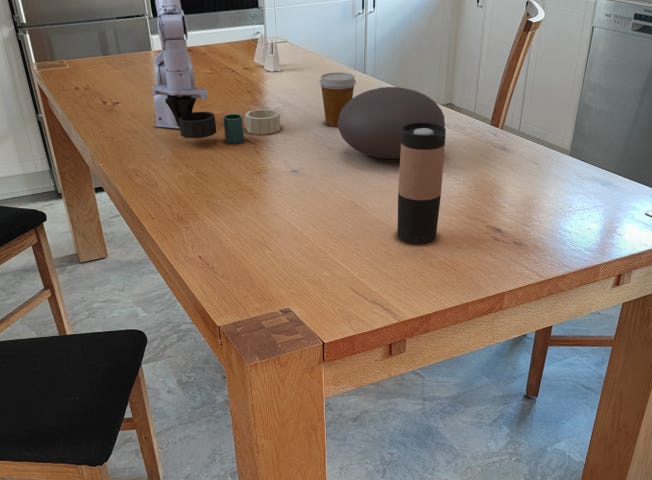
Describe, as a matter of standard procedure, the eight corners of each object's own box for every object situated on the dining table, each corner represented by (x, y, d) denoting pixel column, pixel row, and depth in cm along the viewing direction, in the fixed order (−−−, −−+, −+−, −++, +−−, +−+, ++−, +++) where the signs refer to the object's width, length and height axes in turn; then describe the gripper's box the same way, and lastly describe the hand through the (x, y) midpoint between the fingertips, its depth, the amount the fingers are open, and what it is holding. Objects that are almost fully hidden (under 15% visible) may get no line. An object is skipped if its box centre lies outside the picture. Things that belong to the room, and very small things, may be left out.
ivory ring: (240, 132, 188) (239, 117, 185) (254, 123, 194) (253, 107, 192) (271, 135, 185) (271, 120, 183) (284, 126, 192) (284, 110, 189)
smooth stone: (384, 131, 186) (386, 71, 178) (463, 153, 172) (469, 88, 163) (316, 154, 172) (315, 90, 164) (396, 180, 158) (399, 111, 149)
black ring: (174, 137, 177) (171, 120, 175) (191, 126, 184) (189, 110, 182) (206, 139, 175) (204, 122, 172) (222, 128, 181) (220, 112, 179)
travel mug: (392, 229, 137) (397, 122, 126) (432, 227, 137) (440, 121, 126) (399, 246, 131) (405, 136, 119) (441, 244, 131) (451, 134, 120)
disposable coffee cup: (352, 129, 189) (352, 81, 182) (316, 127, 190) (315, 80, 183) (357, 118, 196) (358, 72, 189) (323, 117, 198) (323, 71, 191)
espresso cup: (222, 142, 181) (220, 118, 177) (230, 137, 184) (228, 113, 181) (239, 144, 180) (237, 120, 176) (247, 138, 183) (245, 114, 180)
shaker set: (253, 66, 249) (251, 31, 243) (264, 64, 251) (262, 30, 244) (271, 73, 241) (269, 37, 234) (281, 71, 242) (280, 35, 236)
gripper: (142, 70, 171) (150, 128, 179) (196, 75, 167) (202, 133, 175) (157, 64, 176) (164, 120, 184) (210, 68, 172) (215, 125, 180)
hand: (184, 126), depth 180 cm, fingers closed on black ring
